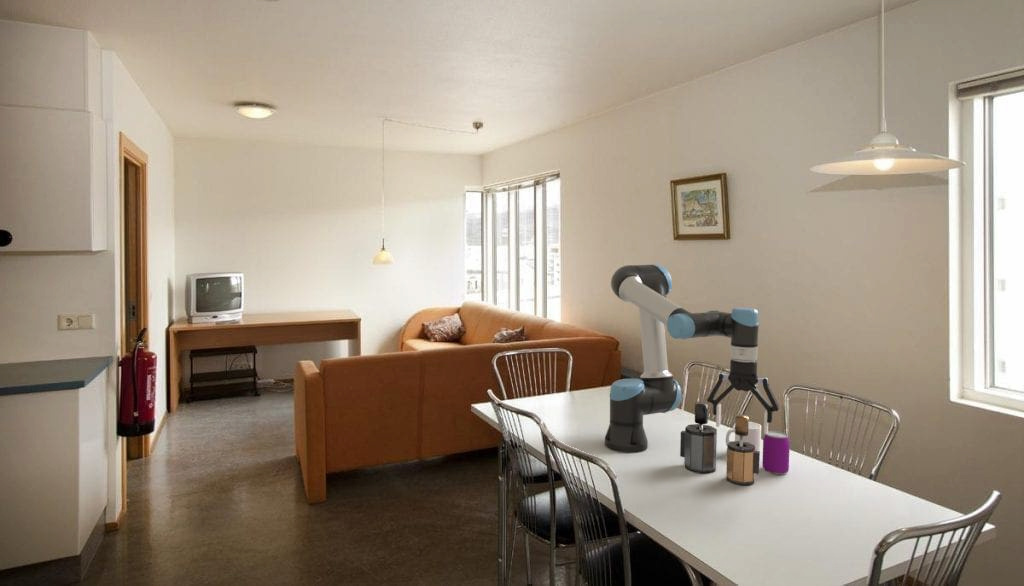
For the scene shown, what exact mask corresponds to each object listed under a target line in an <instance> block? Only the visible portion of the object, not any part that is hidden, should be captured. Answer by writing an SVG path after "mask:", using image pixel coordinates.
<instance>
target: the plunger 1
mask: <svg viewBox="0 0 1024 586" xmlns="http://www.w3.org/2000/svg"><path fill="white" fill-rule="evenodd" d="M708 421H709V403H708V402H702V401H698V402H695V403H694V424H699V430H703V425H707V424H709V423H708Z"/></svg>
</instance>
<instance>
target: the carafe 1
mask: <svg viewBox="0 0 1024 586" xmlns="http://www.w3.org/2000/svg"><path fill="white" fill-rule="evenodd" d="M717 430H718V428H715V427H714V426H712V425H709V424H708V425H707V424H703V430H699V424H698V423H694V424H688V425H686V426H685V429H684V430H682V431H680V449H679V454H680V455H679V456H680V457H682V458H684V463H683V466H684V468H685V470H687V471H688V472H692V473H695V474H702V475H703V474H705V475H708V474H714V473H715V472H716V470H717V443H718V441H717V438H718V437H717V436H718V431H717Z"/></svg>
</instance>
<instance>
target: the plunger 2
mask: <svg viewBox="0 0 1024 586" xmlns="http://www.w3.org/2000/svg"><path fill="white" fill-rule="evenodd" d="M749 417H750V416H749V415H747V414H742V413H738V414H735V417H734V418H735V419H734V429H735V432H734V435H735V434H736V435H740V447H743V436H747V435H748V428H749V422H750V418H749Z"/></svg>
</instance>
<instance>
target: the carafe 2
mask: <svg viewBox="0 0 1024 586" xmlns="http://www.w3.org/2000/svg"><path fill="white" fill-rule="evenodd" d="M760 455H761V451H760V452H759V451H755V446H754V445H752V444H750V443H748V442H743V447H740V441H735V440H733V441H729V443H728V444H727V445H726V471H725V472H726V474H725V475H726V477H725V478H726V479H725V480H726V481H727V482H729V483H730V484H732V485H735V486H740V487H741V486H744V487H746V486H753V485H754V484H755V475H759V474H760V459H761V458H760Z"/></svg>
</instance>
